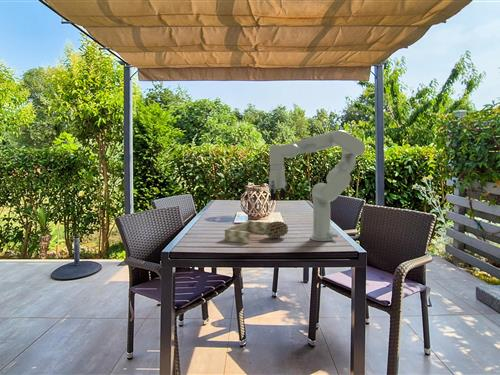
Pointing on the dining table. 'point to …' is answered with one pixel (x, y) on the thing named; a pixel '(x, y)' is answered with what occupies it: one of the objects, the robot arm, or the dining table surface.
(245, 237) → the box
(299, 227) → the dining table surface
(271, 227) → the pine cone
